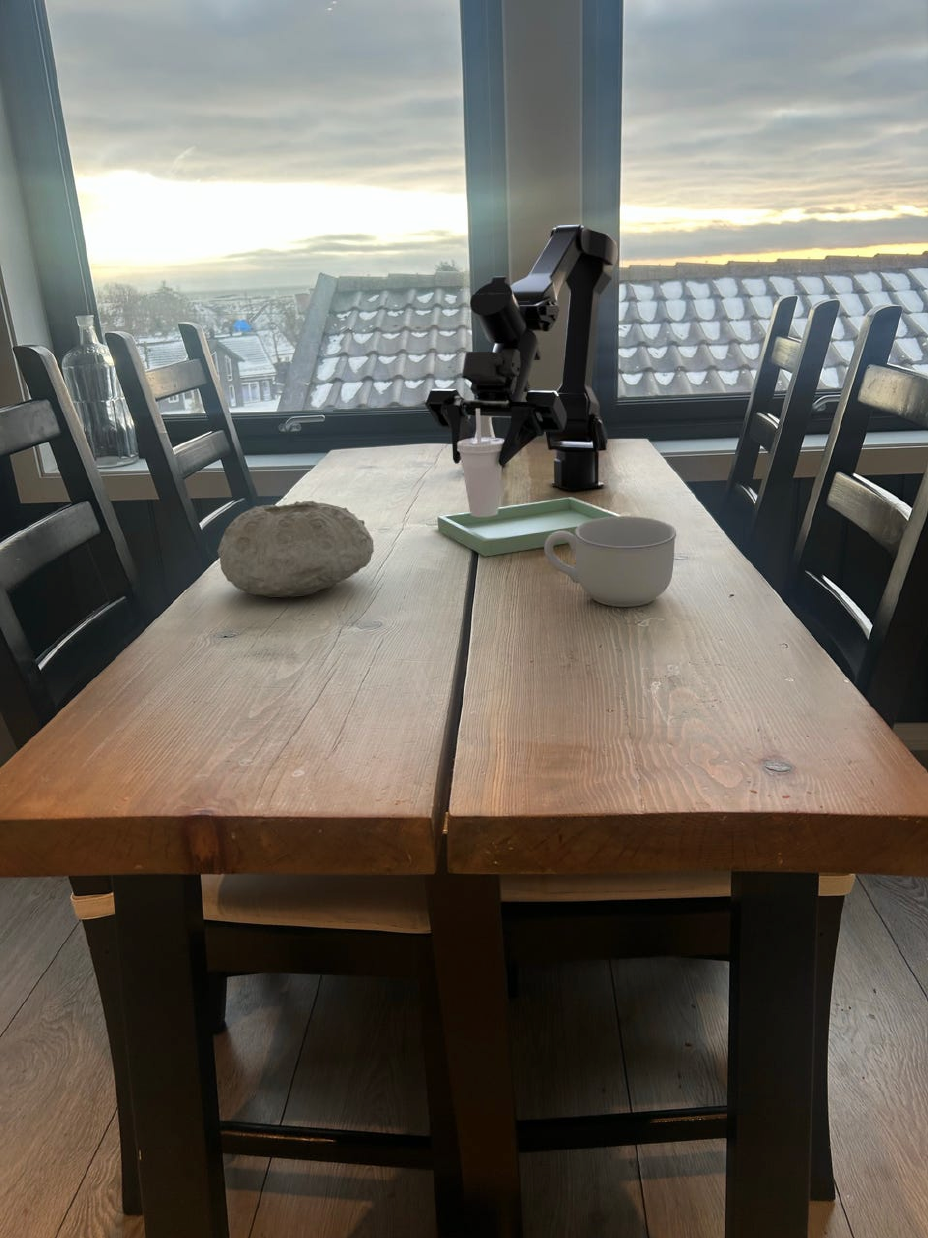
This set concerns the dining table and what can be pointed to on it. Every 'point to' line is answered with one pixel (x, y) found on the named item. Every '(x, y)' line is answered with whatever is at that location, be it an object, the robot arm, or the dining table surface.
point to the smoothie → (481, 471)
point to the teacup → (619, 558)
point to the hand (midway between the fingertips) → (477, 463)
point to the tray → (519, 525)
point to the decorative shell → (293, 548)
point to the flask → (486, 427)
